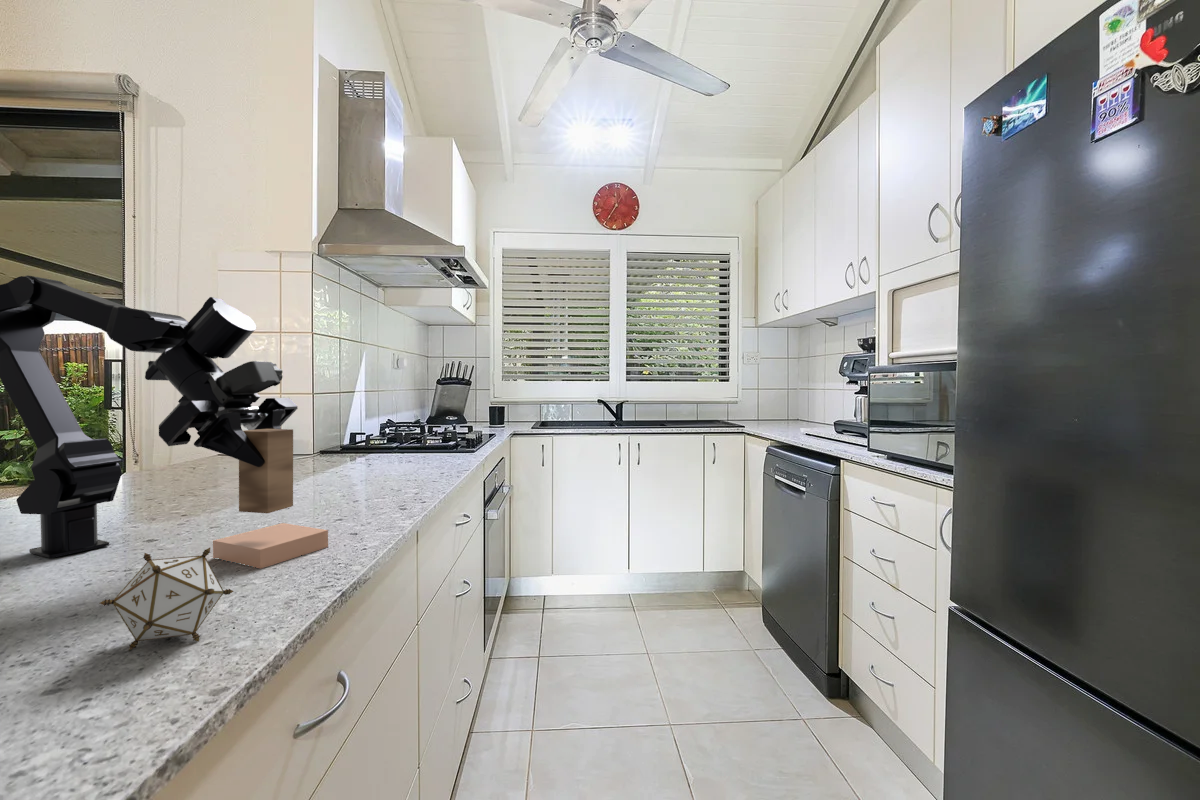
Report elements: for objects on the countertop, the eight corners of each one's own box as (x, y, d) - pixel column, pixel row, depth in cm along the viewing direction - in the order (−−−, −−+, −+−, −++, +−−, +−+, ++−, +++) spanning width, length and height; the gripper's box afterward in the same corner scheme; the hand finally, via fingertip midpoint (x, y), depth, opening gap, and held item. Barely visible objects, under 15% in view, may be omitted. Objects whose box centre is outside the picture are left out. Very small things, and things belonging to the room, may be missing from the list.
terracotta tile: (213, 558, 71) (212, 540, 71) (282, 538, 81) (282, 522, 80) (260, 568, 67) (260, 549, 67) (328, 546, 77) (328, 530, 76)
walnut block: (238, 511, 70) (238, 431, 70) (265, 504, 75) (265, 428, 75) (267, 513, 70) (267, 432, 69) (293, 506, 74) (293, 429, 74)
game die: (174, 686, 47) (137, 630, 41) (105, 644, 49) (59, 585, 43) (259, 606, 54) (238, 548, 48) (196, 571, 56) (168, 511, 50)
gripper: (178, 334, 63) (264, 427, 62) (285, 346, 81) (352, 417, 81) (120, 398, 64) (204, 490, 63) (239, 395, 82) (305, 466, 82)
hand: (275, 461), depth 72 cm, fingers closed on walnut block, 5 cm apart
